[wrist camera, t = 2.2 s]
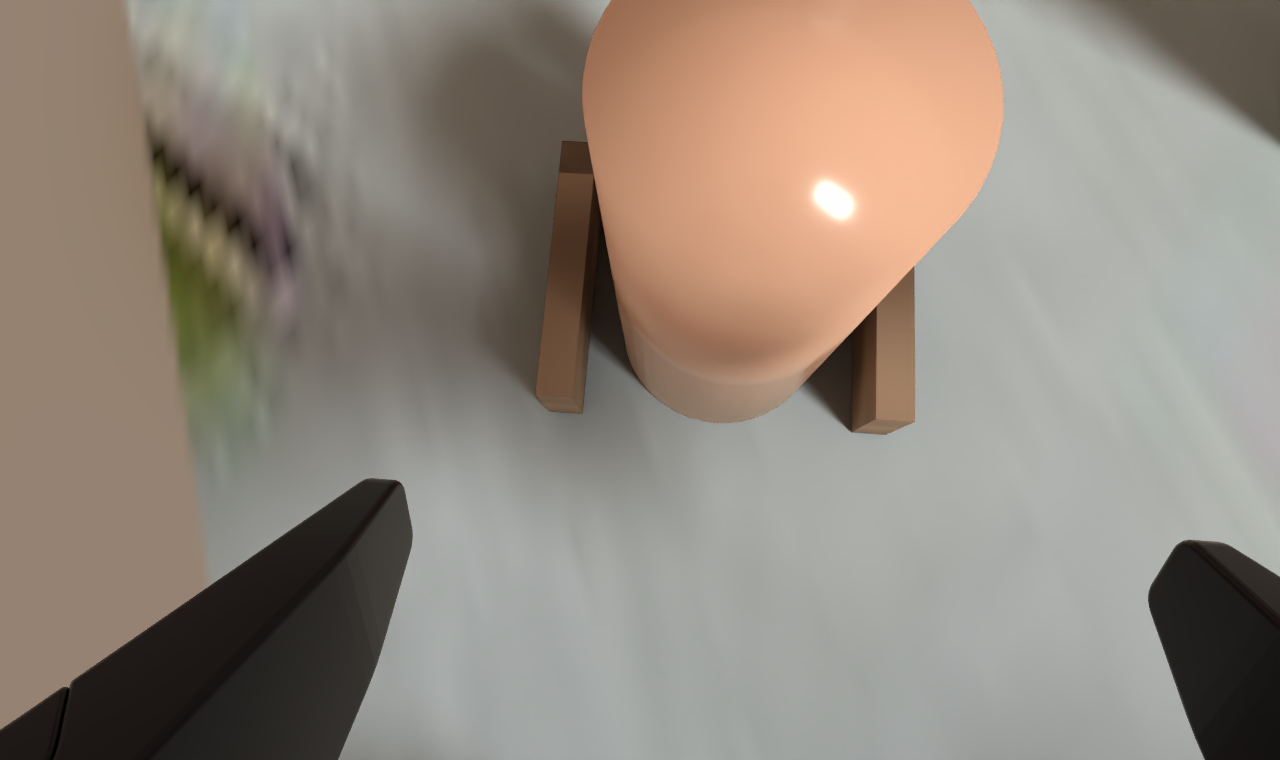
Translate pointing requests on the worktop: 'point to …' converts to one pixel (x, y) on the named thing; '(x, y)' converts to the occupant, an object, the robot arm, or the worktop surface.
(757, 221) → the jug
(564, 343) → the jug cradle
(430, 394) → the worktop surface
